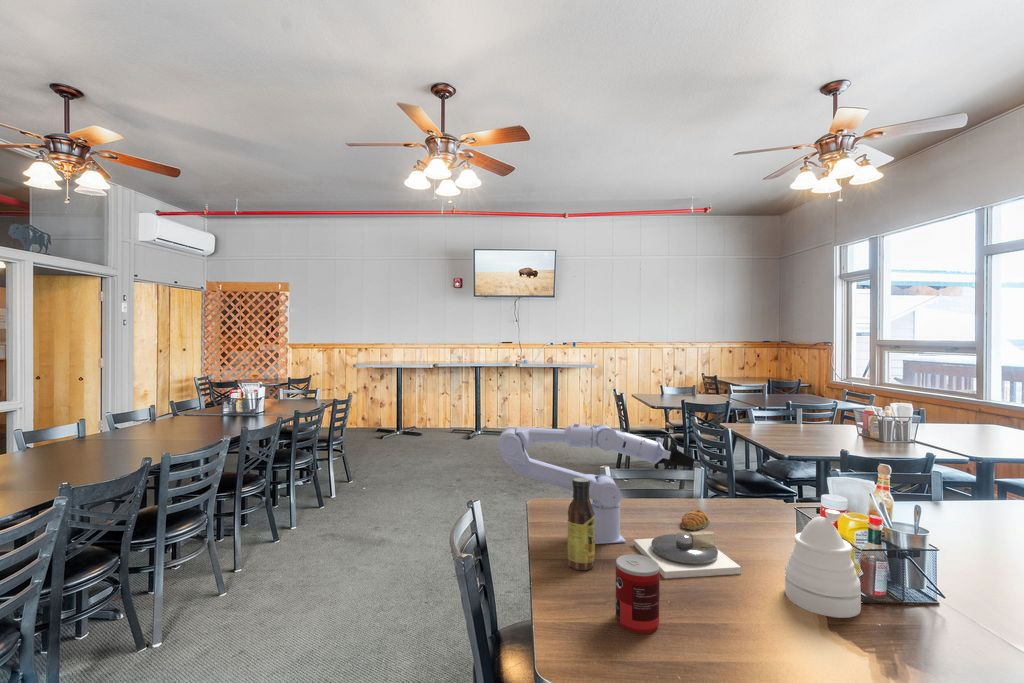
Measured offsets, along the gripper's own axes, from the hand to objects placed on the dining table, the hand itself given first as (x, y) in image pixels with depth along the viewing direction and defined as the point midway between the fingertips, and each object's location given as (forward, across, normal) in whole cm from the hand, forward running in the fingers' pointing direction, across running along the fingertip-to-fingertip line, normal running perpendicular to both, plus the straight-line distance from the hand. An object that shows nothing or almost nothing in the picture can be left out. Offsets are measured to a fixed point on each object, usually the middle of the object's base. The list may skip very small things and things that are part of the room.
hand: (687, 462), depth 130 cm
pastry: (+11, +14, +16) cm, 24 cm away
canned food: (-15, -34, +32) cm, 50 cm away
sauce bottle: (-23, -11, +30) cm, 40 cm away
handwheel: (+1, -8, +21) cm, 22 cm away
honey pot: (+22, -27, +20) cm, 40 cm away
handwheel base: (+1, -8, +23) cm, 24 cm away
